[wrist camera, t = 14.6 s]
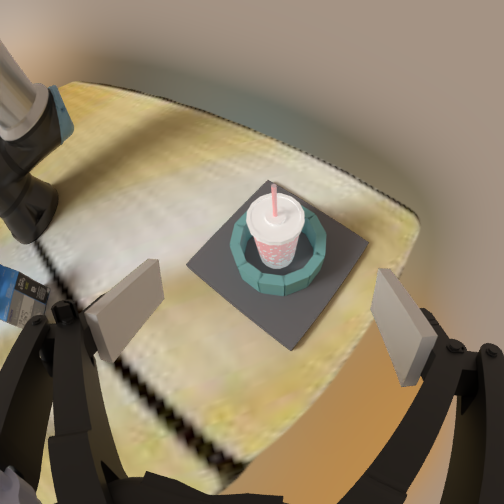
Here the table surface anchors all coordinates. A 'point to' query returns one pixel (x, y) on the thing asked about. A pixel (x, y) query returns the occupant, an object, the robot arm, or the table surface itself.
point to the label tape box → (20, 297)
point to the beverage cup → (275, 227)
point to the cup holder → (279, 270)
